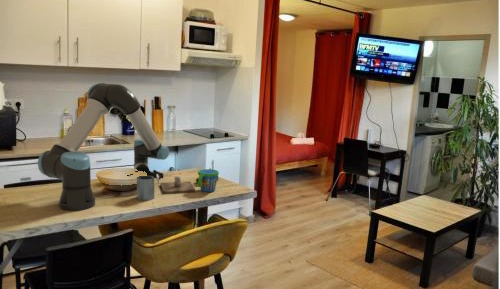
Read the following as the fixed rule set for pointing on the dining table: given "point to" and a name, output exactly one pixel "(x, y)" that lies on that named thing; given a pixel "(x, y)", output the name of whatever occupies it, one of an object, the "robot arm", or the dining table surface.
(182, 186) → the shaft stand
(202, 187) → the snack cup
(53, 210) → the dining table surface
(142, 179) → the grey pen holder
